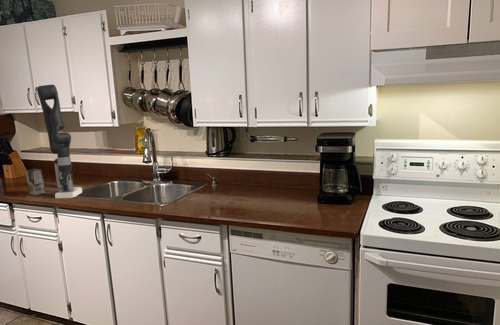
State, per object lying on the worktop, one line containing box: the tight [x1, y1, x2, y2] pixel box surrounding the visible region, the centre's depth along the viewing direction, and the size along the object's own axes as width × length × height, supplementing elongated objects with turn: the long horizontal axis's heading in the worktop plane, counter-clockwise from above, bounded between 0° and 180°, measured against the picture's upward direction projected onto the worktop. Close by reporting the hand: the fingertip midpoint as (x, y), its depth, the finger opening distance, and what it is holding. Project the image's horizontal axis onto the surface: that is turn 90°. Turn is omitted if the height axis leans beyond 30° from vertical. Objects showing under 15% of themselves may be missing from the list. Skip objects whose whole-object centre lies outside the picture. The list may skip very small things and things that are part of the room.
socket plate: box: [54, 186, 83, 199], centre depth 242 cm, size 14×11×4 cm
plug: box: [60, 180, 74, 192], centre depth 240 cm, size 5×5×7 cm
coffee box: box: [25, 168, 46, 196], centre depth 248 cm, size 9×6×16 cm
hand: (67, 189), depth 241 cm, fingers closed on plug, 5 cm apart
